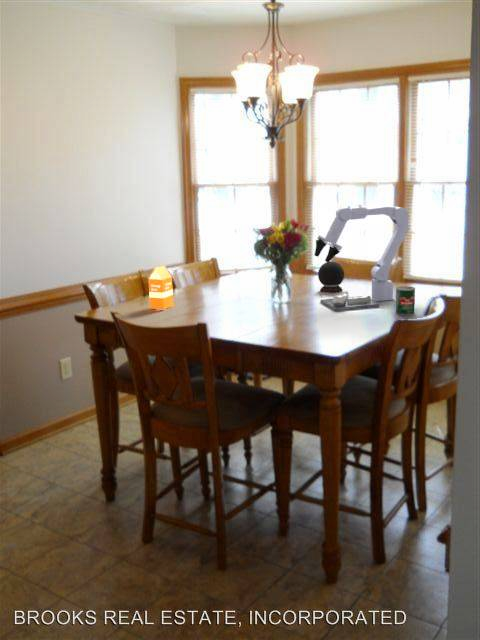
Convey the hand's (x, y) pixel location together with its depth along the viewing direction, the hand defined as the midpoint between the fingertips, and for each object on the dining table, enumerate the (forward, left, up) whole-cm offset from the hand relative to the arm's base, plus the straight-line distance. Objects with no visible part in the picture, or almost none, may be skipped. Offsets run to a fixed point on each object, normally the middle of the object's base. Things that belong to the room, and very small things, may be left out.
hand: (321, 258), depth 319 cm
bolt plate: (-10, +10, -21) cm, 25 cm away
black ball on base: (-14, -25, -21) cm, 35 cm away
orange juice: (+73, -18, -21) cm, 78 cm away
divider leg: (-9, +7, -19) cm, 22 cm away
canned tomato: (-25, +35, -21) cm, 47 cm away
